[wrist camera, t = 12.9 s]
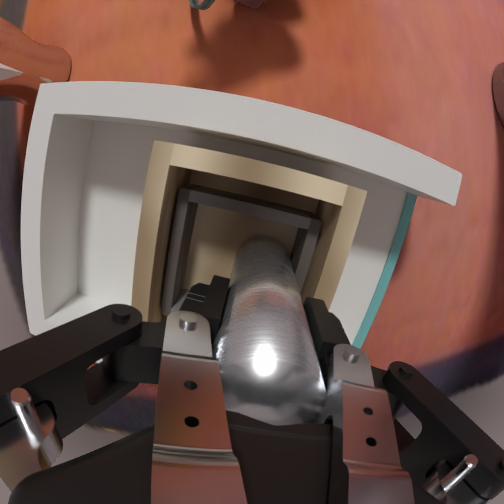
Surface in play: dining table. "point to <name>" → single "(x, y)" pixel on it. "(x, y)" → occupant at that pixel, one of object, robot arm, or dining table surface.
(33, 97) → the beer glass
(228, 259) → the box
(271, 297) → the handle peg
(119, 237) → the bay
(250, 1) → the binoculars
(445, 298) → the dining table surface
